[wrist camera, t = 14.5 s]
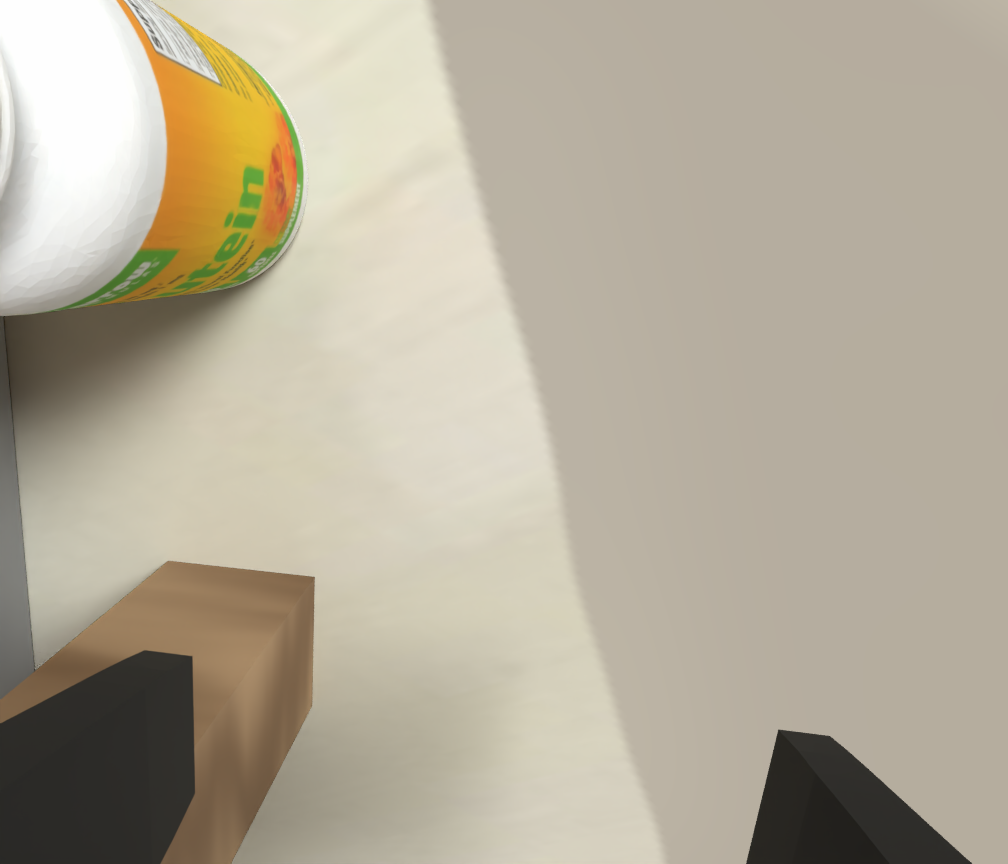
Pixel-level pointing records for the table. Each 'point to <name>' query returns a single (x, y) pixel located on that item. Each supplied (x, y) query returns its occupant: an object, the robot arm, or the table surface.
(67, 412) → the table surface
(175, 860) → the tan wooden post
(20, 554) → the grey railed tray
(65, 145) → the supplement bottle
